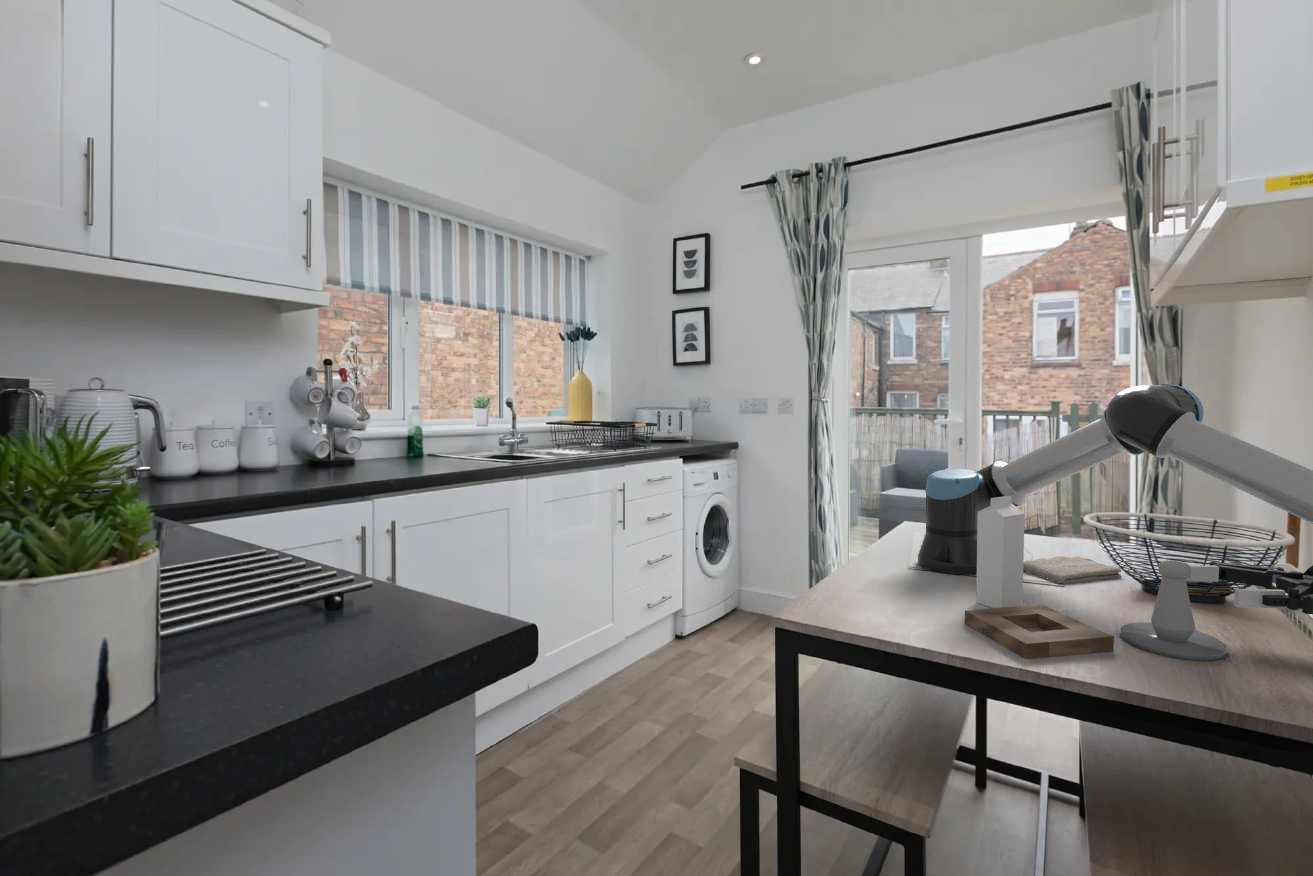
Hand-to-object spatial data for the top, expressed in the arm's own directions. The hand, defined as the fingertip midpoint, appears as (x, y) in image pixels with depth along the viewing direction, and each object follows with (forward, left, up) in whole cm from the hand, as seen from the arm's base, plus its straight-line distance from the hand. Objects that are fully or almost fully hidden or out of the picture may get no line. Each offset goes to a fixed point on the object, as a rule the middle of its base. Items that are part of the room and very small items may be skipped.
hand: (1204, 584), depth 106 cm
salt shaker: (-2, -4, -10) cm, 10 cm away
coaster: (-2, -4, -10) cm, 11 cm away
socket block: (-9, -24, -10) cm, 28 cm away
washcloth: (-41, +11, -11) cm, 44 cm away
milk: (-25, -19, -11) cm, 33 cm away
